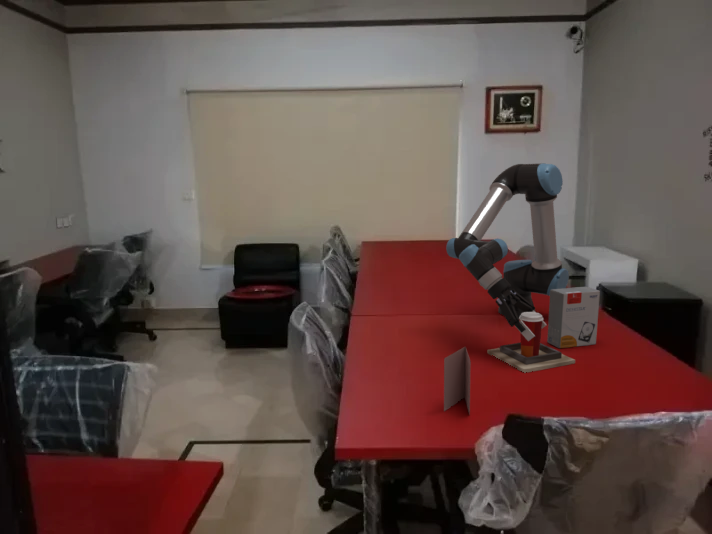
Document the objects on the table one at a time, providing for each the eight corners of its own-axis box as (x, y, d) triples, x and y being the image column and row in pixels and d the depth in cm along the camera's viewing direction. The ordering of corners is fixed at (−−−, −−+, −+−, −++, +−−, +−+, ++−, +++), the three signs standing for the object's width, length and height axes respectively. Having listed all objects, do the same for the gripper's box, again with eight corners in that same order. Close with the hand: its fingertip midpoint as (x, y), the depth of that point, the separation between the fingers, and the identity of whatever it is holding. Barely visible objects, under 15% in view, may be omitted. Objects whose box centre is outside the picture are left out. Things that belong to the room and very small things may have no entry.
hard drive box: (559, 349, 194) (561, 293, 190) (546, 342, 201) (548, 289, 198) (597, 344, 198) (600, 290, 194) (583, 338, 205) (586, 285, 202)
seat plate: (487, 353, 192) (487, 344, 191) (534, 345, 199) (535, 336, 198) (524, 373, 174) (524, 363, 173) (575, 363, 181) (575, 354, 180)
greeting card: (461, 396, 158) (462, 346, 155) (485, 403, 153) (487, 351, 150) (441, 410, 149) (441, 357, 146) (465, 418, 145) (466, 363, 142)
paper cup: (537, 350, 190) (538, 311, 187) (545, 358, 182) (547, 317, 180) (514, 351, 190) (515, 311, 187) (521, 359, 182) (523, 318, 179)
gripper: (499, 283, 201) (540, 329, 195) (473, 298, 181) (517, 350, 175) (514, 270, 197) (556, 317, 191) (489, 284, 177) (535, 336, 171)
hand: (537, 333), depth 183 cm, fingers open, 13 cm apart
